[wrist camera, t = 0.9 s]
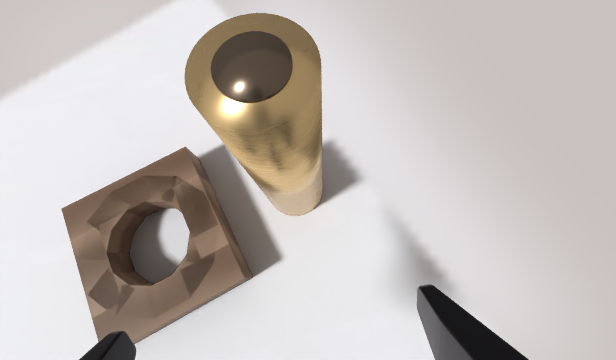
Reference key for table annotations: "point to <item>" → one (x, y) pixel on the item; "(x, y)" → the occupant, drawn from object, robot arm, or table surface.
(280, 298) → the table surface
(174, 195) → the jig plate
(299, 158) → the bronze sleeve
